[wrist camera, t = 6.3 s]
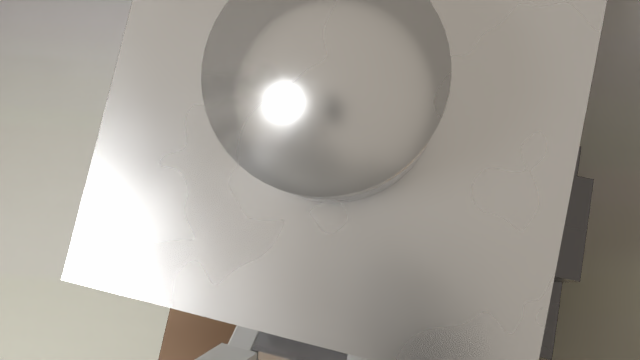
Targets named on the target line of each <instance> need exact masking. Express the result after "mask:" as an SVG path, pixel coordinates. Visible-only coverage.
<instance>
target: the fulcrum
mask: <svg viewBox="0 0 640 360" xmlns="http://www.w3.org/2000/svg"><path fill="white" fill-rule="evenodd" d="M580 152H581V147H580V146H579V151H578V157H577V162H576V167H575V172H574V178H573V183H572V188H571V193H570V199H569V204H568V209H567V214H566V220H565V225H564V230H563V235H562V241H561V246H560V251H559V256H558V262H557V267H556V272H555V277H554V283H553V288H552V293H551V298H550V304H549V309H548V314H547V319H546V325H545V330H544V335H543V340H542V346H541V351H540V356H539V357H542V358H546V359H550V360H552V354H553V347H554V339H555V332H556V325H557V318H558V311H559V303H560V296H561V289H562V282H580V278H581V271H582V263H583V255H584V248H585V240H586V233H587V225H588V218H589V210H590V203H591V195H592V187H593V180H594V179H589V178H584V177H578V176H577V173H578V166H579V159H580Z"/></svg>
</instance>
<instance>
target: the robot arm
mask: <svg viewBox="0 0 640 360" xmlns="http://www.w3.org/2000/svg"><path fill="white" fill-rule="evenodd" d="M195 360H369V359H365V358H361V357H357V356H353V355H349V354H346V353H342V352H338V351H334V350H330V349H326V348H322V347H319V346H315V345H311V344H307V343H303V342H299V341H295V340H292V339H288V338H284V337H280V336H276V335H272V334H268V333H265V332H261V331H257V330H253V329H249V328H245V327H241V326H236V328H235V330H234V332H233V334H232V336H231V338H230V340H229V342H228V344H225V343H221V344H219V345H217V346H216V347H214V348H213V349H211V350H209V351H208V352H206V353H205V354H203V355H202V356H200V357H198V358H197V359H195Z"/></svg>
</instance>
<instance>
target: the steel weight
mask: <svg viewBox="0 0 640 360" xmlns="http://www.w3.org/2000/svg"><path fill="white" fill-rule="evenodd" d="M606 4H607V0H132V4H131V8H130V12H129V16H128V19H127V23H126V27H125V31H124V35H123V39H122V43H121V47H120V51H119V55H118V59H117V63H116V67H115V71H114V75H113V78H112V82H111V86H110V90H109V94H108V98H107V102H106V106H105V110H104V114H103V118H102V122H101V126H100V130H99V134H98V138H97V141H96V145H95V149H94V153H93V157H92V161H91V165H90V169H89V173H88V177H87V181H86V185H85V189H84V193H83V197H82V200H81V204H80V208H79V212H78V216H77V220H76V224H75V228H74V232H73V236H72V240H71V244H70V248H69V252H68V256H67V259H66V263H65V267H64V271H63V275H62V279H61V280H64V281H68V282H71V283H75V284H79V285H83V286H87V287H91V288H95V289H98V290H102V291H106V292H110V293H114V294H118V295H122V296H126V297H129V298H133V299H137V300H141V301H145V302H149V303H153V304H156V305H160V306H164V307H168V308H172V309H176V310H180V311H183V312H187V313H191V314H195V315H199V316H203V317H207V318H210V319H214V320H218V321H222V322H226V323H230V324H234V325H237V326H241V327H245V328H249V329H253V330H257V331H261V332H265V333H268V334H272V335H276V336H280V337H284V338H288V339H292V340H295V341H299V342H303V343H307V344H311V345H315V346H319V347H322V348H326V349H330V350H334V351H338V352H342V353H346V354H349V355H353V356H357V357H361V358H365V359H369V360H539V356H540V351H541V346H542V340H543V335H544V330H545V325H546V319H547V314H548V309H549V304H550V298H551V293H552V288H553V283H554V277H555V272H556V267H557V262H558V256H559V251H560V246H561V241H562V235H563V230H564V225H565V220H566V214H567V209H568V204H569V199H570V193H571V188H572V183H573V178H574V172H575V167H576V162H577V157H578V151H579V146H580V141H581V136H582V130H583V125H584V120H585V115H586V109H587V104H588V99H589V94H590V88H591V83H592V78H593V73H594V67H595V62H596V57H597V52H598V46H599V41H600V36H601V31H602V25H603V20H604V15H605V10H606Z"/></svg>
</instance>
